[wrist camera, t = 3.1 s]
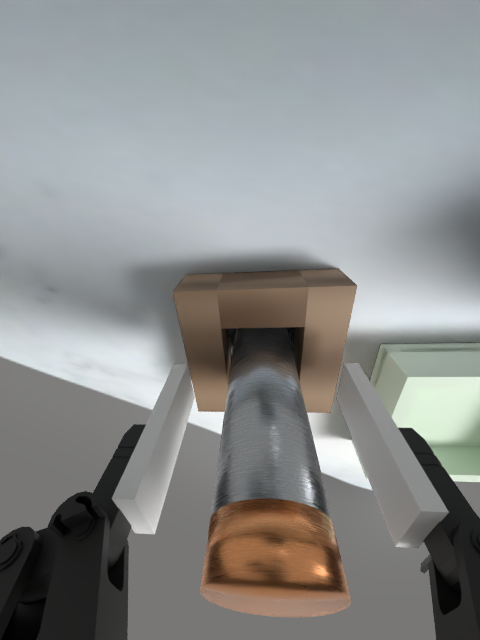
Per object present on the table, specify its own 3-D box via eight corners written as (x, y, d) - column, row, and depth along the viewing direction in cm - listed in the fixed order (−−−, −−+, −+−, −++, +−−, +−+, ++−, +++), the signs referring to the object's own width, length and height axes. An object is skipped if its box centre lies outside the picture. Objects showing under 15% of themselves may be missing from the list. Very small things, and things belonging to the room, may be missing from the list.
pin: (233, 312, 17) (188, 570, 5) (289, 311, 16) (366, 582, 5) (237, 355, 19) (209, 611, 7) (286, 355, 18) (337, 621, 7)
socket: (186, 274, 15) (172, 291, 13) (338, 268, 15) (357, 285, 12) (205, 383, 20) (198, 411, 18) (320, 383, 20) (330, 412, 17)
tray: (380, 344, 17) (407, 377, 14) (555, 342, 16) (624, 376, 13) (351, 440, 23) (366, 478, 20) (478, 443, 22) (514, 483, 19)
